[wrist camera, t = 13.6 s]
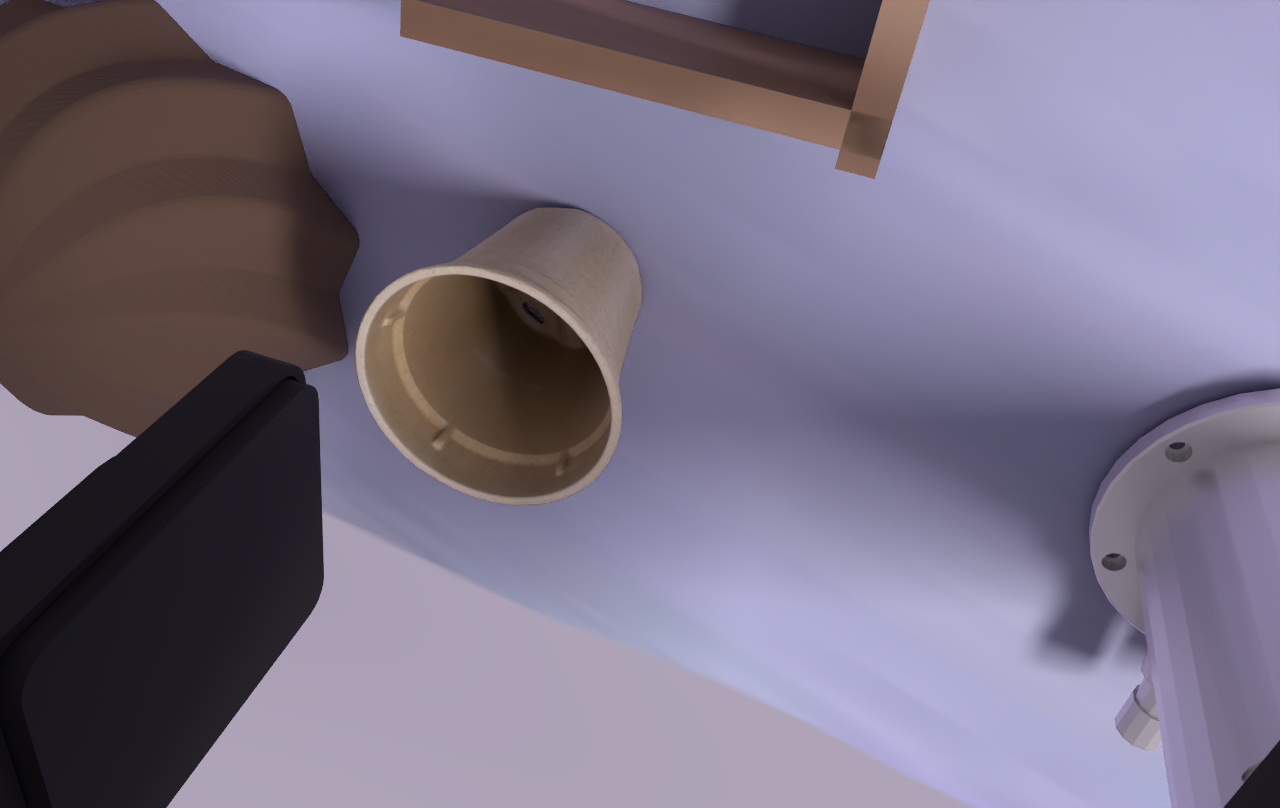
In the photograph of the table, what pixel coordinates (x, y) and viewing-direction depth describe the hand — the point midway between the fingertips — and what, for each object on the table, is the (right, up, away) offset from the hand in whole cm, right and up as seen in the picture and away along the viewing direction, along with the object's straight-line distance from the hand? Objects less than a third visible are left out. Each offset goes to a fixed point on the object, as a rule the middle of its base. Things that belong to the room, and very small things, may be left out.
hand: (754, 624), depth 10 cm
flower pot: (-4, +7, +32) cm, 33 cm away
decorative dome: (-22, +10, +37) cm, 44 cm away
